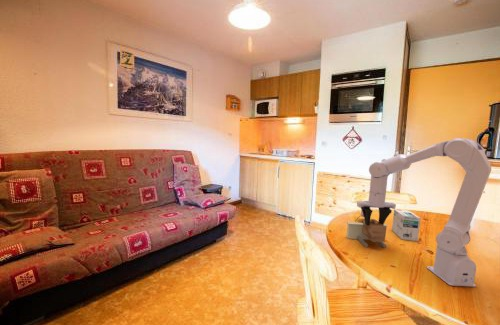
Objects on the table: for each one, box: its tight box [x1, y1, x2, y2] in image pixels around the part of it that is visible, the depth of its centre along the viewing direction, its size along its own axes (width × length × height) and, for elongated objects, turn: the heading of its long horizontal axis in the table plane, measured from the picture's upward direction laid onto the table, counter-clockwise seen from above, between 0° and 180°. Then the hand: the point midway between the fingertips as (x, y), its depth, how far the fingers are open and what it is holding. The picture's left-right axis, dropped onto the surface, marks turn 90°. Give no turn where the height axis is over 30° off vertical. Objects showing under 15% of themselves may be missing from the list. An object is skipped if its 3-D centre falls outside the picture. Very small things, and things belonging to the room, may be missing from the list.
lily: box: [354, 207, 364, 222], centre depth 117 cm, size 12×12×10 cm
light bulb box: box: [391, 208, 422, 242], centre depth 102 cm, size 11×7×11 cm, turn 168°
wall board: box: [346, 221, 388, 249], centre depth 94 cm, size 9×16×7 cm, turn 90°
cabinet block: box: [362, 218, 387, 243], centre depth 92 cm, size 8×5×7 cm, turn 0°
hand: (373, 224), depth 92 cm, fingers closed on cabinet block, 5 cm apart
